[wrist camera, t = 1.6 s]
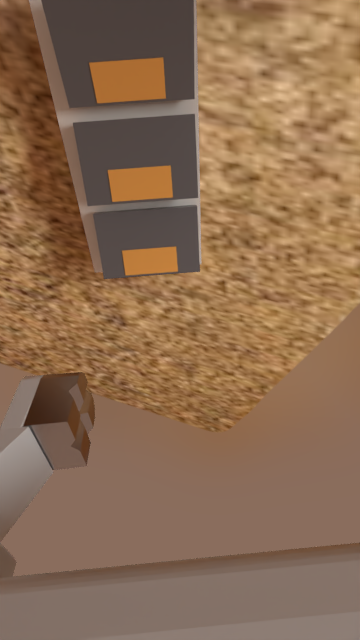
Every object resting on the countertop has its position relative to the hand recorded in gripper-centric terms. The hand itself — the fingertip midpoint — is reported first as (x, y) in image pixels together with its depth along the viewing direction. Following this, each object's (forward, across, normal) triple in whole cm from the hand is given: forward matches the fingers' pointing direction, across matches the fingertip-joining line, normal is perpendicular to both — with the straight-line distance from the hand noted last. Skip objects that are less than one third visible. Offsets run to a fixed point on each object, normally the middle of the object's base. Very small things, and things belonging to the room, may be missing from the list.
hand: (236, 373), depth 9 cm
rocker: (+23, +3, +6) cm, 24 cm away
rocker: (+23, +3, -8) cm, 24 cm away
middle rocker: (+23, +3, -1) cm, 23 cm away
